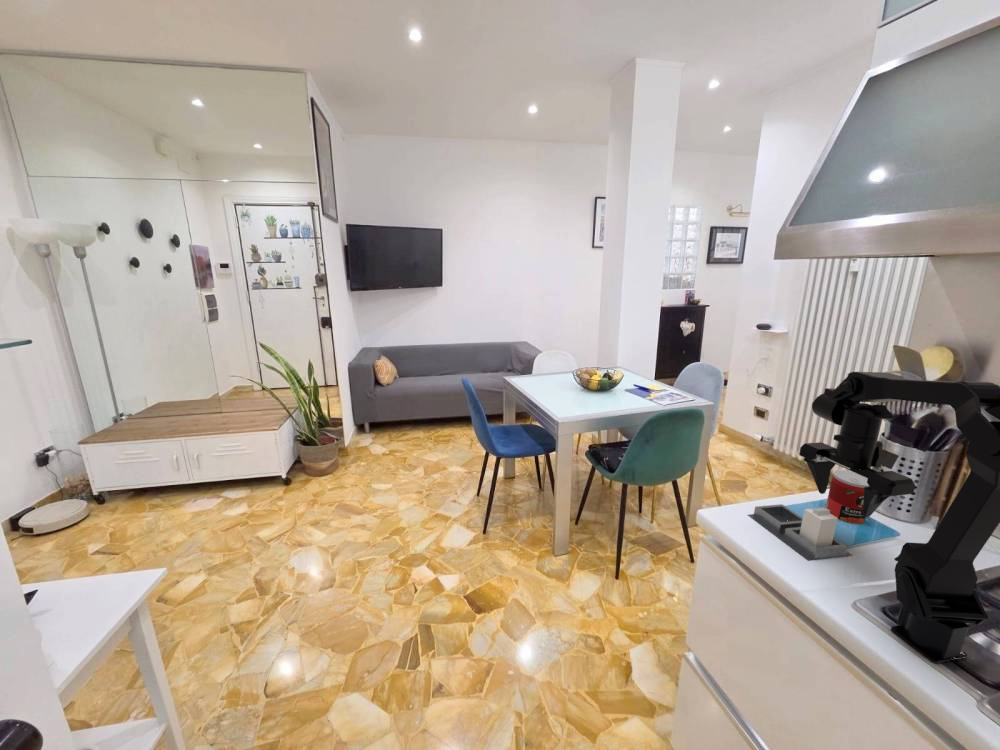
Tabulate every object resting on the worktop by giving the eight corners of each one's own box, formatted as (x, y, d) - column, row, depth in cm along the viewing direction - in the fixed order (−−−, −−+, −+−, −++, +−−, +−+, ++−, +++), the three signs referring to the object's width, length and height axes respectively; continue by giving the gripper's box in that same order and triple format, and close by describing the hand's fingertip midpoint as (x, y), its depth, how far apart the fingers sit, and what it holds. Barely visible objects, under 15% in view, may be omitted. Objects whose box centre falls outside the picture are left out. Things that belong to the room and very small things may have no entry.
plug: (830, 551, 87) (839, 514, 85) (814, 553, 87) (822, 515, 85) (813, 539, 91) (821, 503, 89) (797, 541, 91) (805, 505, 89)
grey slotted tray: (852, 558, 86) (855, 546, 86) (807, 564, 85) (810, 551, 84) (785, 514, 103) (787, 503, 102) (746, 517, 101) (748, 506, 100)
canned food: (840, 526, 98) (850, 485, 95) (816, 508, 105) (825, 469, 103) (873, 527, 97) (884, 485, 95) (846, 509, 105) (856, 470, 103)
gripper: (948, 449, 73) (927, 526, 77) (845, 416, 91) (831, 480, 95) (899, 453, 71) (879, 532, 75) (803, 419, 89) (791, 484, 93)
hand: (843, 504), depth 84 cm, fingers open, 9 cm apart
